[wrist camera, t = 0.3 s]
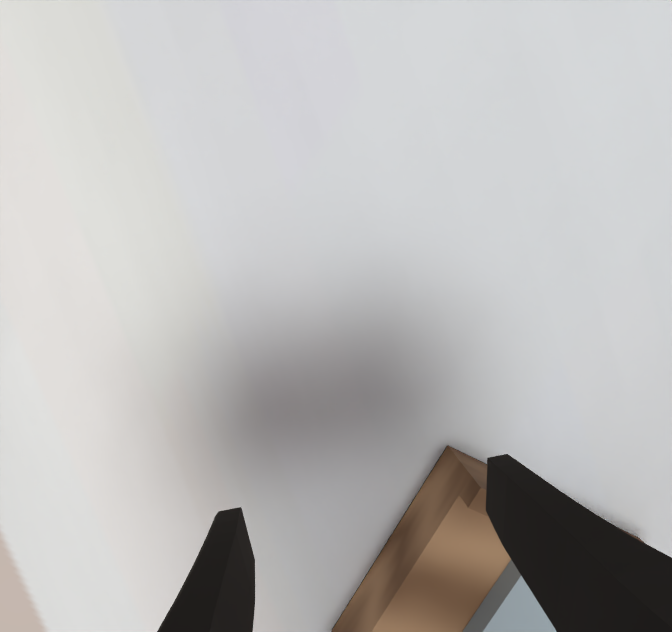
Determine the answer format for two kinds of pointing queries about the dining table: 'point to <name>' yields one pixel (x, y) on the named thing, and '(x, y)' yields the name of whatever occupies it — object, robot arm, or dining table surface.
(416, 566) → the walnut case
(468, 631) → the cover plate
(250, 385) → the dining table surface
